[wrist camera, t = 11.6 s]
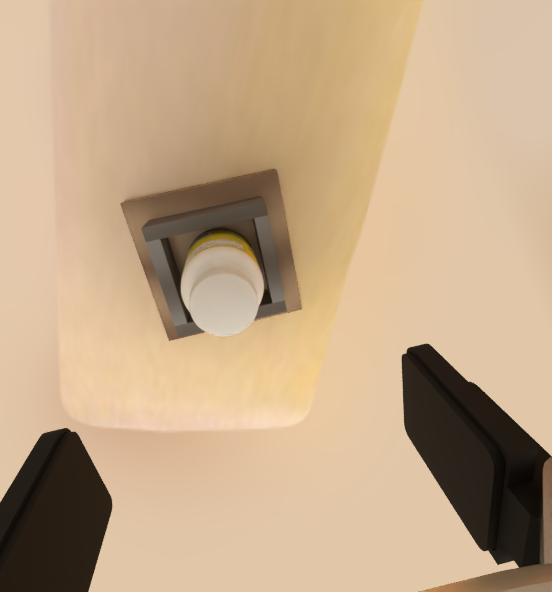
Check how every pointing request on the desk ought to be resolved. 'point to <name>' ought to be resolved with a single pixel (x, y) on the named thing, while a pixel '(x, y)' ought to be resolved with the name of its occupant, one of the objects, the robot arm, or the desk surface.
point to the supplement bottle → (222, 282)
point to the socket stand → (204, 216)
